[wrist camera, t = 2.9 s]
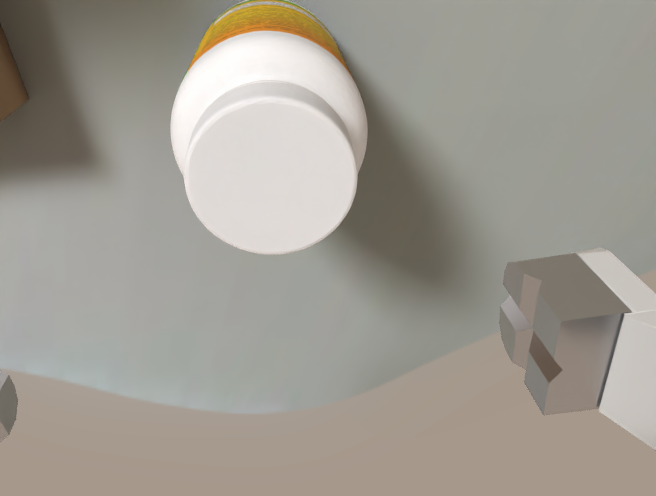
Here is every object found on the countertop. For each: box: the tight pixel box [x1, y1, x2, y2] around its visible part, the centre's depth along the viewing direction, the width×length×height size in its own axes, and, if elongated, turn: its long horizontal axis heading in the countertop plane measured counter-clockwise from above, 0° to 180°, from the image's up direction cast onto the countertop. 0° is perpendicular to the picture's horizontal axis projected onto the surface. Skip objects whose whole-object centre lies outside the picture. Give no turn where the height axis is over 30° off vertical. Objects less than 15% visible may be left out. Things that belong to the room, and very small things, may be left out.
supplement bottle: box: [170, 0, 368, 255], centre depth 16 cm, size 5×5×10 cm
